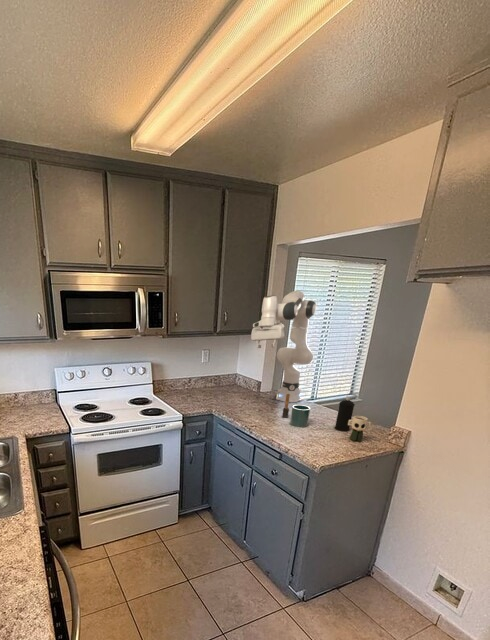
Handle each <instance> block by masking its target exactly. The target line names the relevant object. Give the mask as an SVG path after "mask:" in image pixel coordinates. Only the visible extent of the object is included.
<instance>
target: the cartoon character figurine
mask: <svg viewBox="0 0 490 640" xmlns="http://www.w3.org/2000/svg"><path fill="white" fill-rule="evenodd" d="M368 420H369V419H368V417H367V416H363V415H354V416H352V419H351V420H349V422H348V425H350V427H351V428H352V431H351V433H350V435H349V439H350V440H351V441H355V442H356V441H357V442H362V441H363V439H364V438H363V437H364V431H365V430H366V428H367V429H369V428H371V425H372V421H368ZM350 422H351V423H350ZM367 424H368V425H367Z"/></svg>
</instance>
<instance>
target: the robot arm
mask: <svg viewBox="0 0 490 640" xmlns="http://www.w3.org/2000/svg"><path fill="white" fill-rule="evenodd" d="M316 311H317V304H316V302H315V301H313V300H307V299H305V294H304V293H303V292H302V291H301V290H294V291H291V292H288V293H287V294H286V295H284V296H283V298H282V301H281V303H278V296H277V295H267V296H264V297H263V299H262V305H261V317H260V320H259V321H257V322H254V323H253V324H252V330H251V334H250V339H251V341H255V342H256V345H257V349H262V344H261V341H273V343H272V344H271V348H276V345H277V343H278V342H279V341H278V340H283V339H284V338H285V324H284V323H283V322H277V321H292V324H291V328H290V334H289V339H290V341H291V342H292V343H294V344H295V347H291V346H290V347H289V346H286V347H280V348H279V349H278V351H277V352H276V358H277V360H278V361H279V362H280V364H281V366H282V368H283V379H282V383H281V386H280V388H279V389H277V393H276V396H275V400H276V401H279V402H280V401H281V402H283V403H285V402H286V394H287V393H290V396H289V403H297V402H302V398H301V389H300V377H301V371H300V370H299V369H298V368H297V367H296V366H295V364H296V365H309V364H310V363H311V362H313V359H314V353H313V351H312V350H311V349H310V347H309V346H308V343H307V335H308V330H309V325H310V324H309V321H310V318H312V317H313V316H314V315H315V313H316Z"/></svg>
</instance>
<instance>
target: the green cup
mask: <svg viewBox="0 0 490 640" xmlns="http://www.w3.org/2000/svg"><path fill="white" fill-rule="evenodd" d="M291 407H292V408H291V412H290V413H291V414H290V420H289V421H290V422H289V424H290V426H293V427H296V428H306V427H308V425H309V418H310V414H311V413H310V412H311V407H310V406H307V405H303V404H294V405H292V406H291Z"/></svg>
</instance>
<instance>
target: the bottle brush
mask: <svg viewBox="0 0 490 640" xmlns="http://www.w3.org/2000/svg"><path fill="white" fill-rule="evenodd" d="M289 396H290V393H287V394H286V402H284V407H283V409H282V418H284V419H288V418H289V412H290V408H289V403H290V402H289Z"/></svg>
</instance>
